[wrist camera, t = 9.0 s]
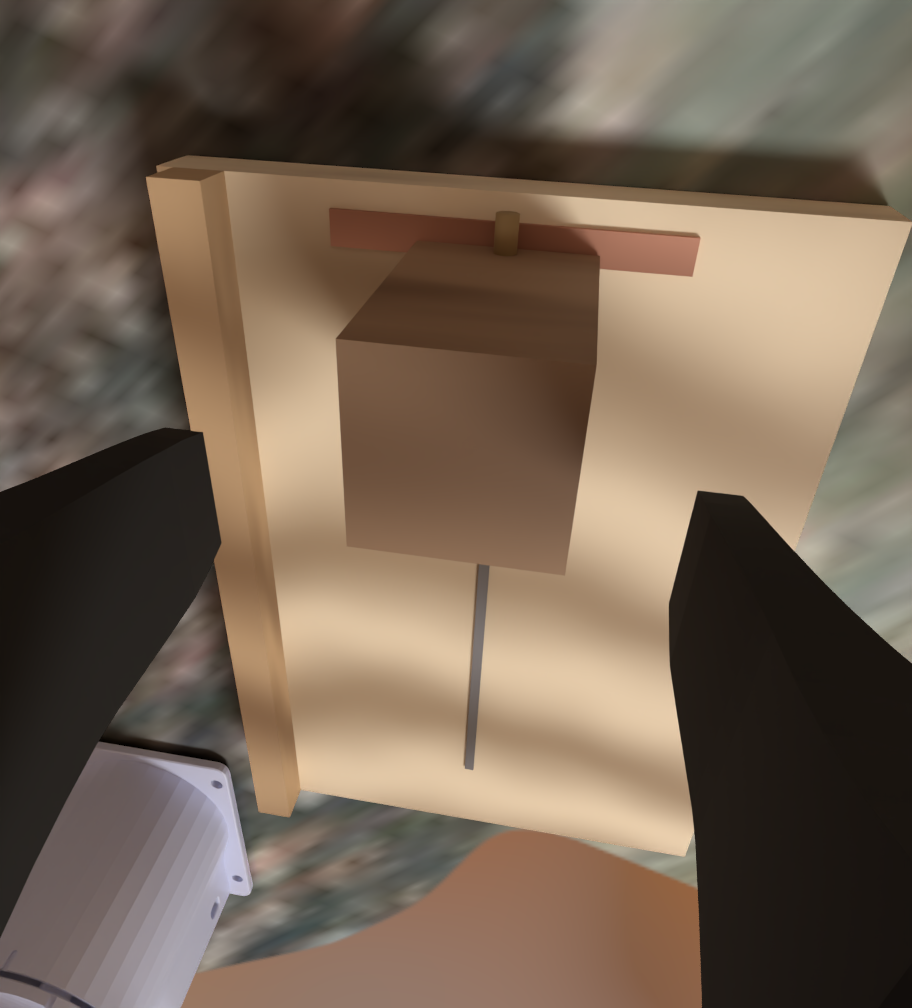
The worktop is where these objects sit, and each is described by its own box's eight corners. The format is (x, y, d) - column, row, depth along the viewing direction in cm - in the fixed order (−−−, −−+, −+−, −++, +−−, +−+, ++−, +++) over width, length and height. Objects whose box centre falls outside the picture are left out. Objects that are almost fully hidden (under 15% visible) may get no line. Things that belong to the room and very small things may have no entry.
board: (681, 819, 28) (687, 888, 26) (275, 751, 30) (248, 810, 28) (889, 206, 16) (934, 237, 14) (187, 155, 18) (127, 175, 16)
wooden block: (576, 422, 18) (564, 575, 13) (415, 405, 19) (347, 546, 14) (605, 216, 16) (604, 311, 11) (417, 202, 16) (333, 286, 11)
